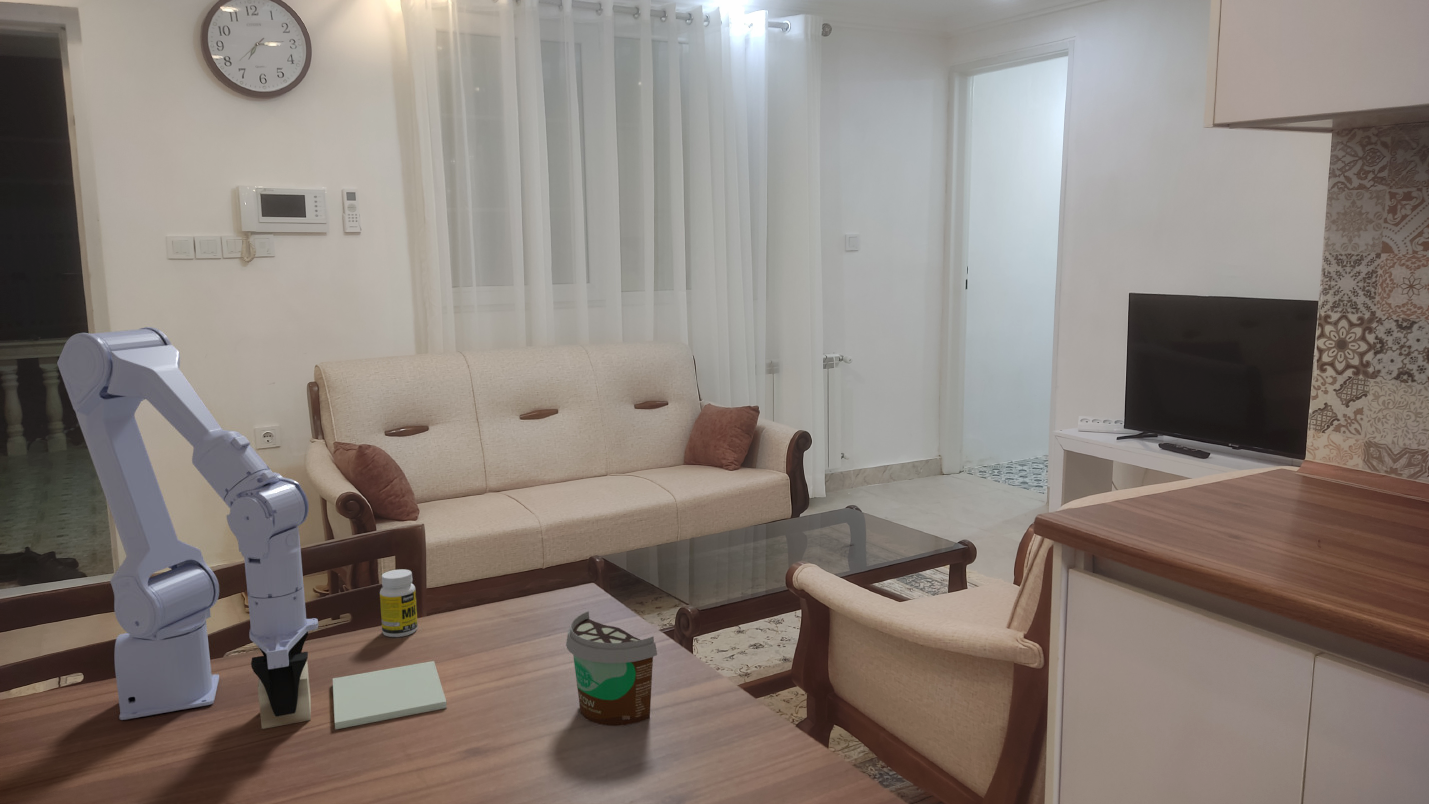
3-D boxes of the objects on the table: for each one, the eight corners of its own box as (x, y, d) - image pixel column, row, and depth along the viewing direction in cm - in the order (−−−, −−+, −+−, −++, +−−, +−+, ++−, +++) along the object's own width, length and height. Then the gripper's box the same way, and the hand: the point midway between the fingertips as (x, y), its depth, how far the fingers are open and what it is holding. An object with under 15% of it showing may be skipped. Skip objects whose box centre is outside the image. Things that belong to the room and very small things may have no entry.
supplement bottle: (406, 639, 127) (402, 580, 126) (375, 636, 128) (371, 578, 127) (424, 625, 132) (420, 569, 131) (394, 623, 133) (390, 567, 132)
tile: (335, 729, 103) (334, 722, 103) (333, 684, 114) (332, 678, 114) (446, 707, 108) (446, 701, 107) (434, 666, 119) (434, 660, 118)
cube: (261, 729, 103) (257, 686, 102) (263, 709, 108) (260, 668, 107) (310, 719, 105) (307, 678, 104) (310, 700, 110) (307, 660, 109)
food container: (546, 707, 108) (543, 625, 106) (588, 688, 112) (585, 609, 110) (617, 743, 99) (614, 655, 98) (659, 722, 104) (656, 637, 102)
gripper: (314, 605, 99) (324, 724, 101) (314, 565, 112) (323, 670, 114) (240, 616, 96) (252, 737, 99) (249, 573, 110) (259, 681, 112)
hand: (286, 702), depth 106 cm, fingers closed on cube, 5 cm apart
